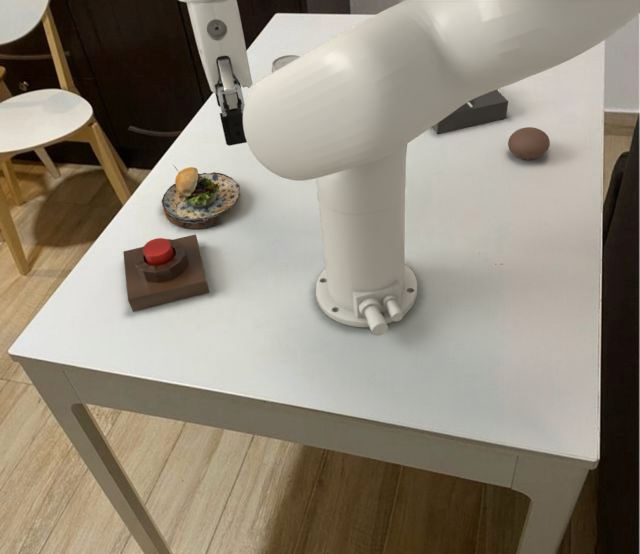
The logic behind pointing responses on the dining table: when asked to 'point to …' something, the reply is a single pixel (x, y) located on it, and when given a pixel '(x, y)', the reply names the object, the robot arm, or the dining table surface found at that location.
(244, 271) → the dining table surface
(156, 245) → the red push button
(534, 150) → the brown flattened ball
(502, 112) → the panel
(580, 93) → the dining table surface
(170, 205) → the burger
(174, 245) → the block
